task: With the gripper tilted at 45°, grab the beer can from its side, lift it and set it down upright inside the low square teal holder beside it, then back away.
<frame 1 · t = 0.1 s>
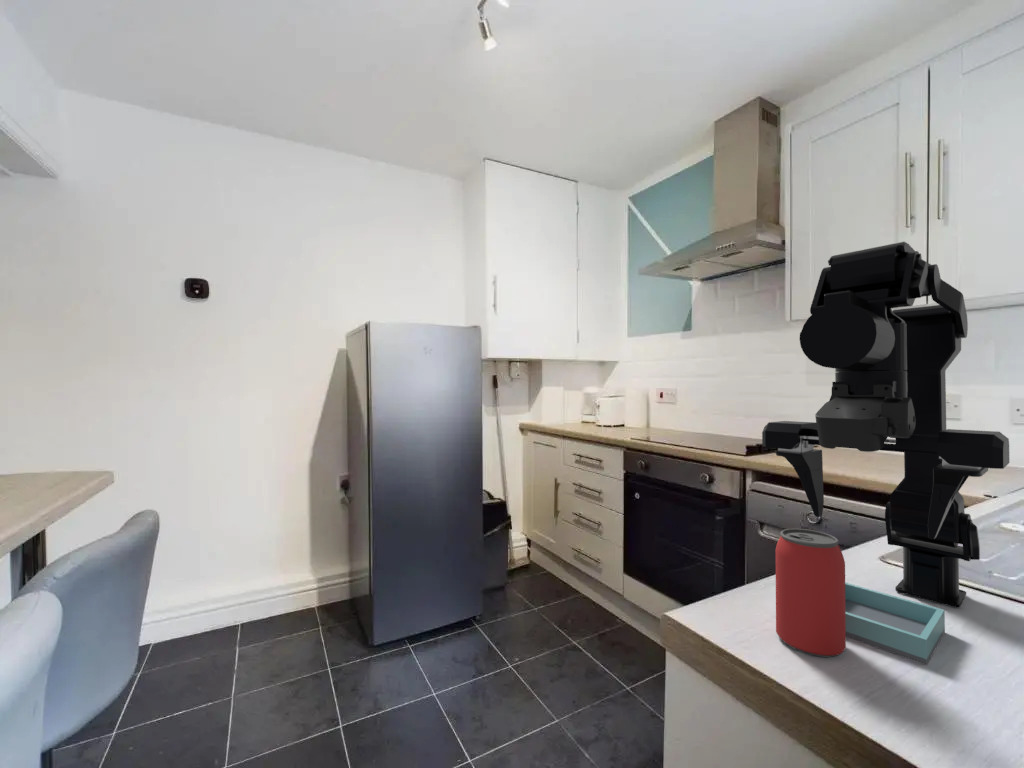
hand: (871, 526, 46), 15 cm above the countertop, tool pointing down, fingers open, 9 cm apart
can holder: (878, 628, 54), on the countertop
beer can: (809, 644, 51), on the countertop
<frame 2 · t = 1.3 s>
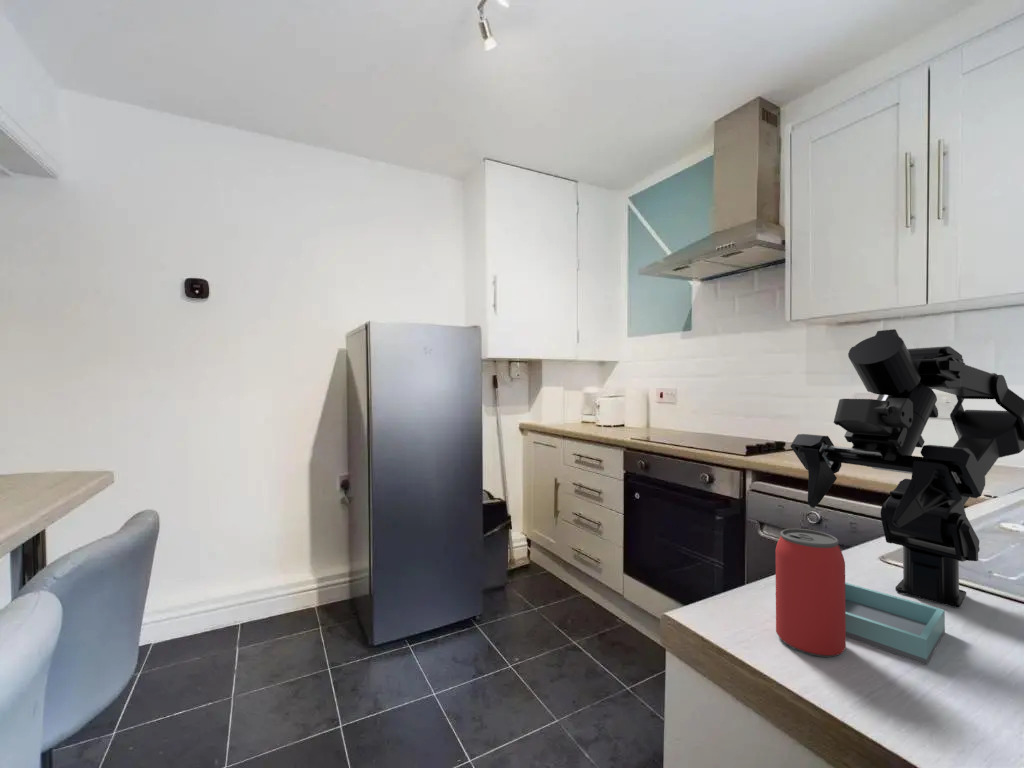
hand: (849, 514, 55), 13 cm above the countertop, tool tilted 45°, fingers open, 9 cm apart
nothing on the countertop moved.
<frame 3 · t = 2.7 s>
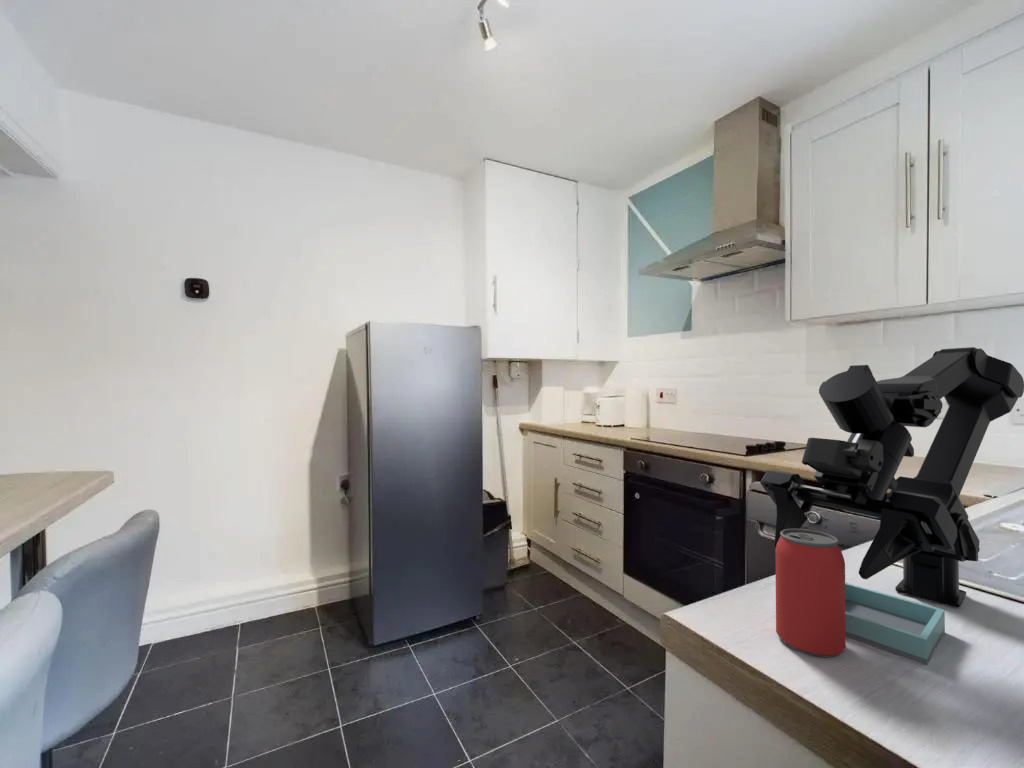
hand: (816, 561, 52), 9 cm above the countertop, tool tilted 45°, fingers open, 9 cm apart
nothing on the countertop moved.
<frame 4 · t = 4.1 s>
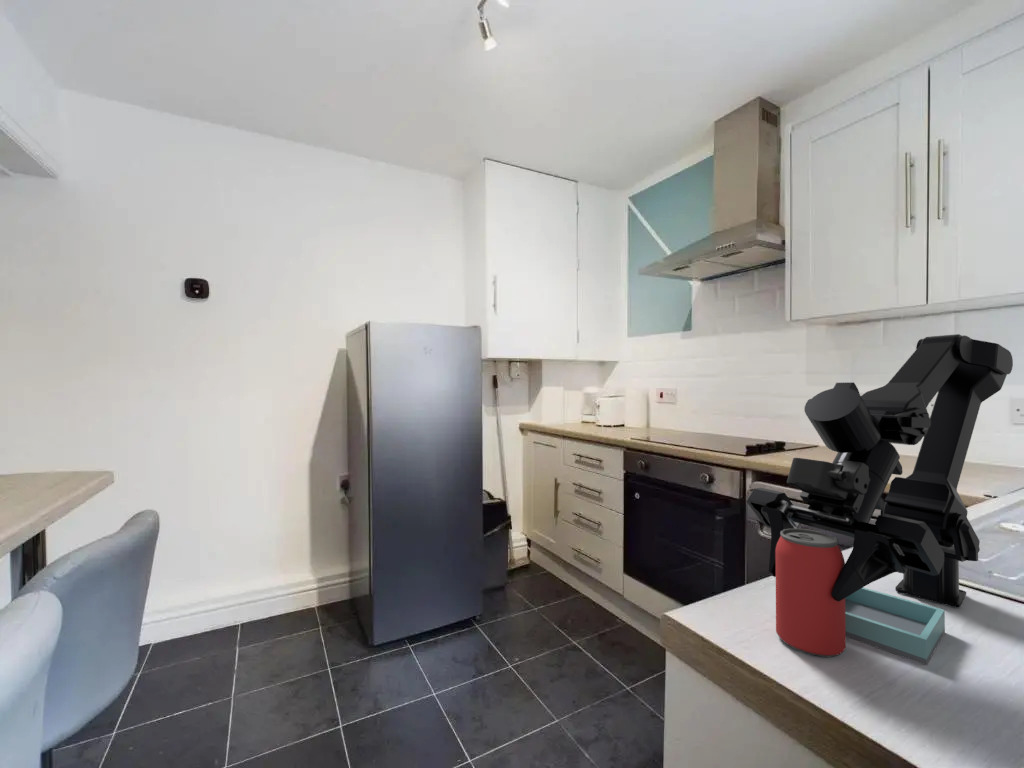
hand: (801, 585, 50), 7 cm above the countertop, tool tilted 45°, fingers closed on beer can, 6 cm apart
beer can: (809, 644, 51), on the countertop, touching gripper
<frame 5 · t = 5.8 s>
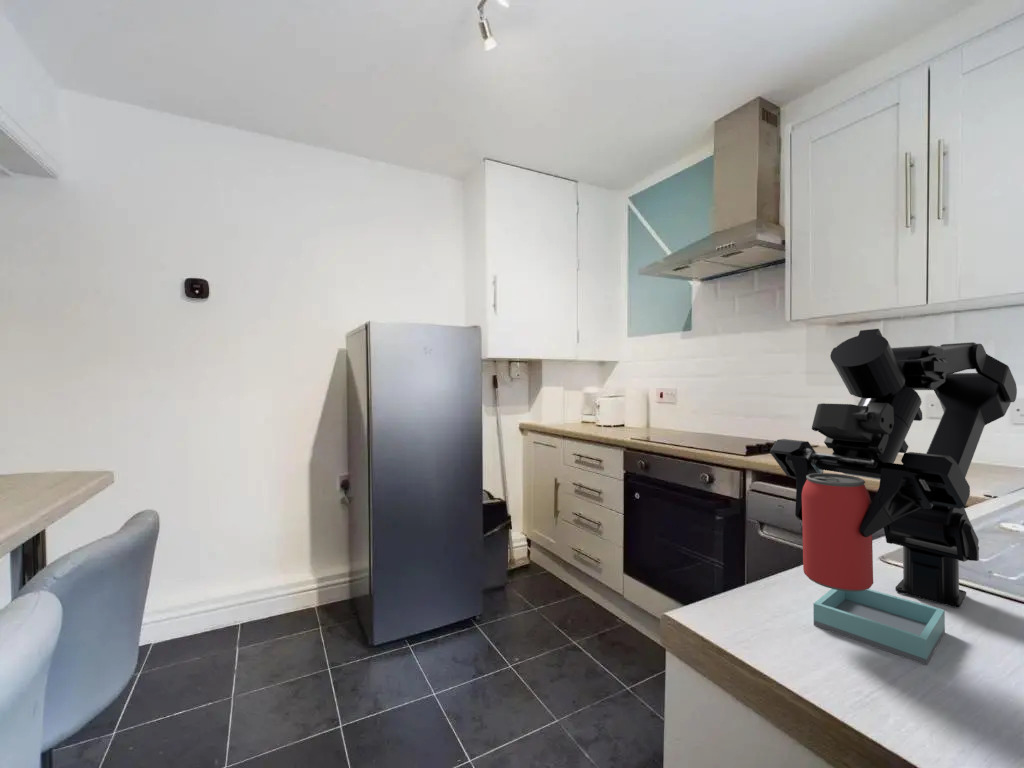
hand: (828, 525, 52), 13 cm above the countertop, tool tilted 45°, fingers closed on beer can, 6 cm apart
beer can: (837, 583, 52), point 6 cm above the countertop, touching gripper
when the fingers open (8 cm above the countertop, at t = 7.9 s): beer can drops 1 cm, resting on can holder.
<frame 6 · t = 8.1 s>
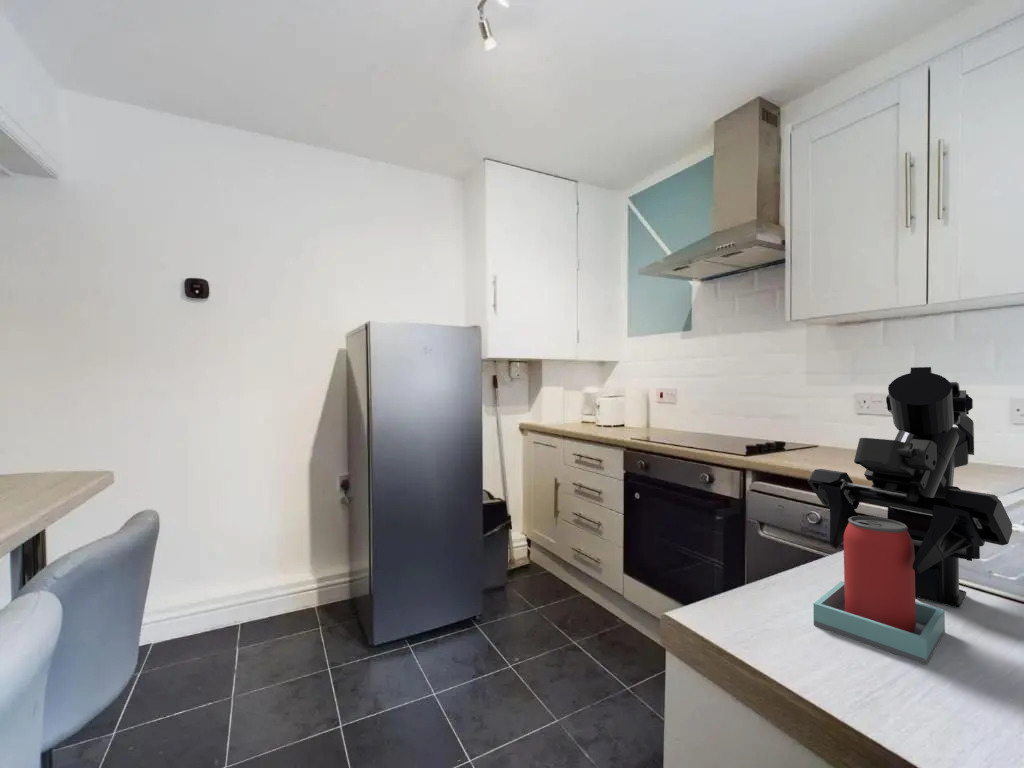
hand: (871, 557, 53), 9 cm above the countertop, tool tilted 45°, fingers open, 8 cm apart
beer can: (879, 624, 54), resting on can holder
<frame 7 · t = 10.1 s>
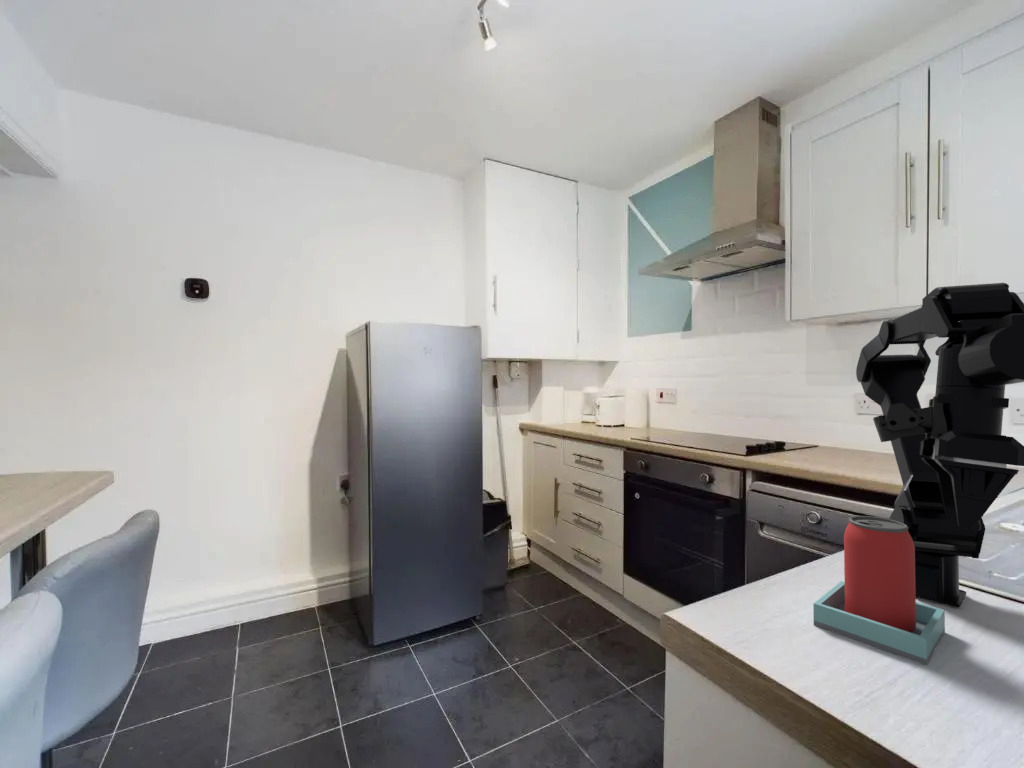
hand: (957, 522, 53), 13 cm above the countertop, tool pointing down, fingers open, 9 cm apart
nothing on the countertop moved.
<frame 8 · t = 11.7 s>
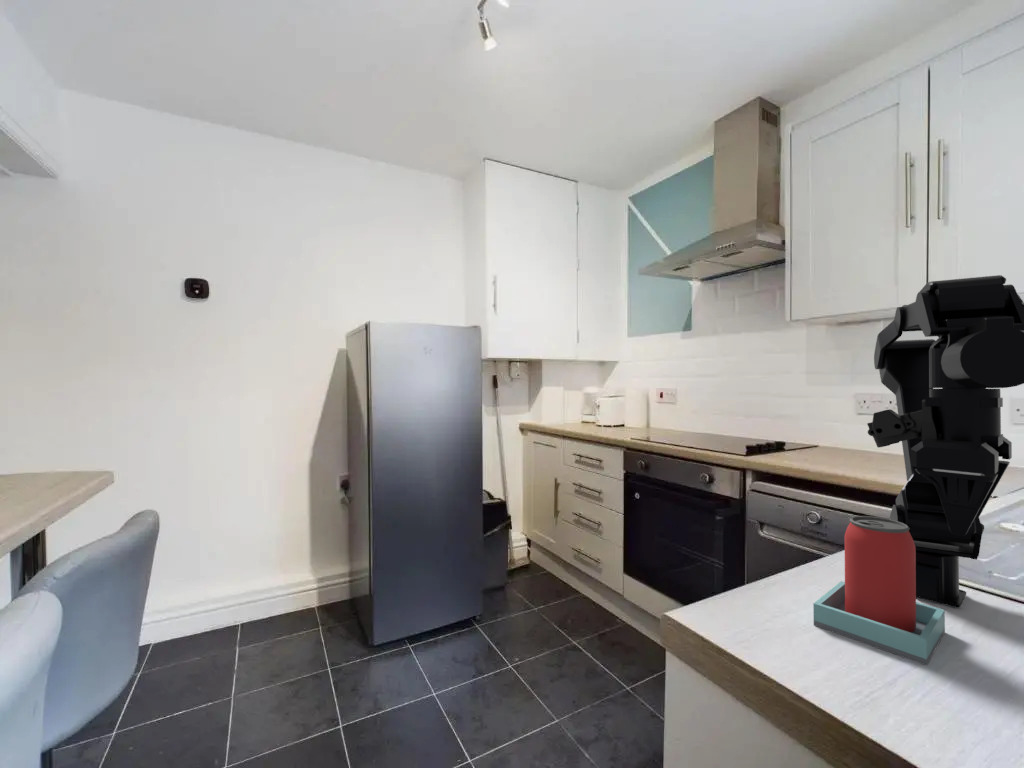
hand: (964, 526, 51), 13 cm above the countertop, tool pointing down, fingers open, 9 cm apart
nothing on the countertop moved.
at the end: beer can 0.2 cm off-centre on the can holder, point 0.4 cm above the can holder's base; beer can tilted 0°; the gripper is holding nothing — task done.
